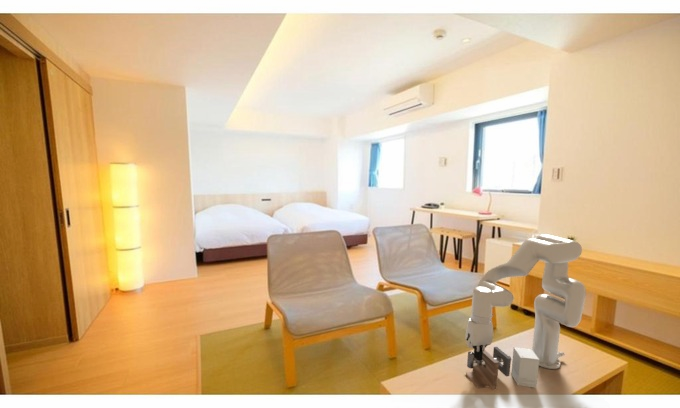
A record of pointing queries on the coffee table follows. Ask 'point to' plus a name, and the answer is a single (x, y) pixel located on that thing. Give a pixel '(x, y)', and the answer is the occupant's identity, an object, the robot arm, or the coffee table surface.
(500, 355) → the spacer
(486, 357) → the bracket
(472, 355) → the shaft
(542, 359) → the robot arm
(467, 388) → the coffee table surface
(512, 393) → the coffee table surface
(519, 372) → the supplement box
